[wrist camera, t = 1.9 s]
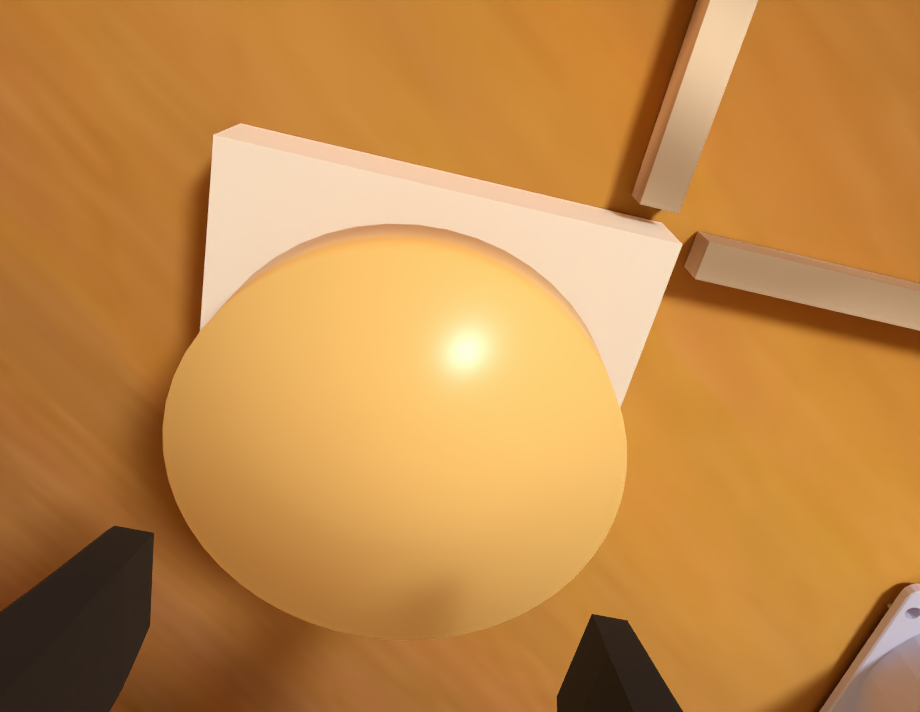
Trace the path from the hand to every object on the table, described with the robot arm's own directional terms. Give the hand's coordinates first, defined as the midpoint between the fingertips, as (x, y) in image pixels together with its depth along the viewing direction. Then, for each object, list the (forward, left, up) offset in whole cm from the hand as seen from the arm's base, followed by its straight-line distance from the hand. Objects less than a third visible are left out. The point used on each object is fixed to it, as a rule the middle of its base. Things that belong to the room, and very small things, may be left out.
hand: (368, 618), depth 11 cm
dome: (0, 0, -8) cm, 8 cm away
